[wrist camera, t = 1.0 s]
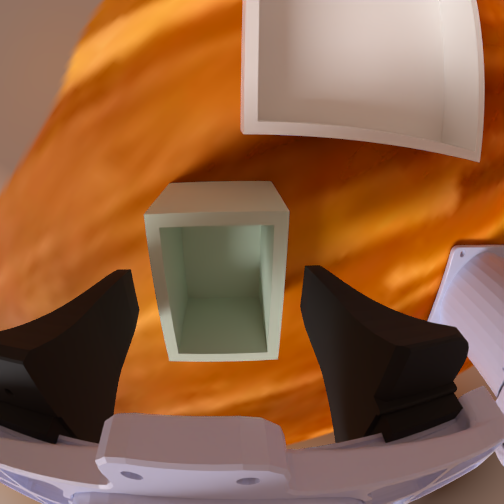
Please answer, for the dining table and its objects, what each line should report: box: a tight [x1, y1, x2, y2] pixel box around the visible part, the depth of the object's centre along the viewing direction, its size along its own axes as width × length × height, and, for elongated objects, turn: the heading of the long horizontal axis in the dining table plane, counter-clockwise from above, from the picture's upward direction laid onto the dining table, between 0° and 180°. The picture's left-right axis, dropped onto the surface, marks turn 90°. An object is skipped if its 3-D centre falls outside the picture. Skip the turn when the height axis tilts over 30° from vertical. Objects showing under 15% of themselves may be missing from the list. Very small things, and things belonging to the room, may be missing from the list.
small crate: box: [144, 181, 290, 361], centre depth 14 cm, size 7×5×5 cm
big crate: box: [241, 0, 485, 163], centre depth 10 cm, size 12×12×4 cm
